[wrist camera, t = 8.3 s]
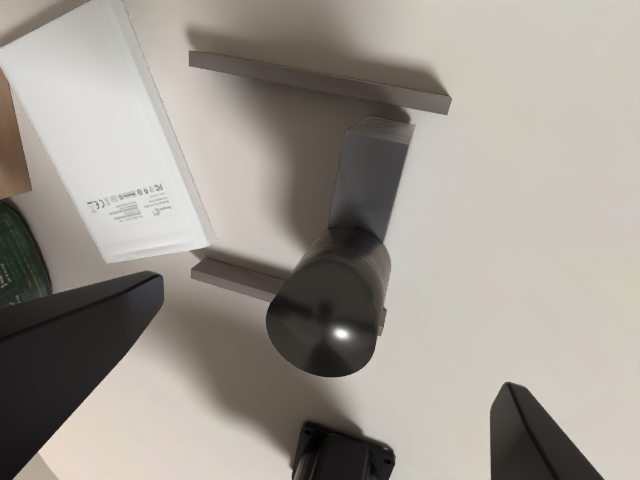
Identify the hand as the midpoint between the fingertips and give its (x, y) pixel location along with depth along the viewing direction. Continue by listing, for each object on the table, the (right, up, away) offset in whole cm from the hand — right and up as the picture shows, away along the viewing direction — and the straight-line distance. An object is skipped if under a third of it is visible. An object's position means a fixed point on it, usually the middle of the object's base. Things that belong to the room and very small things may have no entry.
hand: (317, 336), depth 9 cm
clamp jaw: (+3, +4, +9) cm, 10 cm away
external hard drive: (-11, +8, +12) cm, 18 cm away
